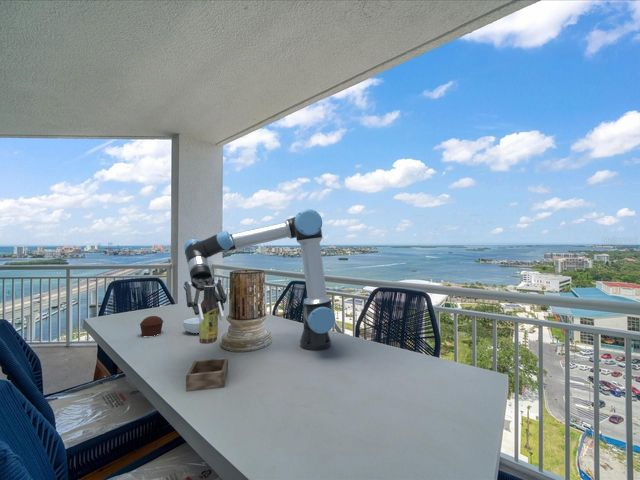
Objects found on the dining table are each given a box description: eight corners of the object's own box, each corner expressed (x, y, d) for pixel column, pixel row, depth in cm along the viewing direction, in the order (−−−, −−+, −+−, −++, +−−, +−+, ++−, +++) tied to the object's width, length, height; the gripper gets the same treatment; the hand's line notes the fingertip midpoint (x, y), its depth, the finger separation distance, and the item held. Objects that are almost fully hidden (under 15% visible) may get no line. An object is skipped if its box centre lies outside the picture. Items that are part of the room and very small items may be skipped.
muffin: (155, 338, 151) (155, 319, 151) (134, 338, 151) (135, 319, 151) (167, 331, 163) (167, 314, 163) (148, 331, 163) (148, 314, 163)
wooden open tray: (227, 371, 108) (227, 357, 108) (224, 387, 96) (224, 371, 96) (194, 374, 105) (194, 360, 106) (185, 391, 93) (186, 375, 93)
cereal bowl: (221, 330, 164) (221, 318, 164) (195, 338, 150) (195, 324, 150) (203, 326, 173) (203, 315, 173) (176, 333, 159) (177, 320, 159)
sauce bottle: (211, 345, 97) (211, 287, 98) (195, 344, 99) (195, 287, 99) (221, 339, 104) (221, 285, 104) (206, 338, 105) (206, 284, 106)
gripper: (221, 275, 120) (235, 321, 106) (171, 278, 108) (180, 330, 95) (226, 263, 116) (241, 310, 102) (174, 265, 104) (184, 317, 91)
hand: (212, 319), depth 99 cm, fingers closed on sauce bottle, 6 cm apart
